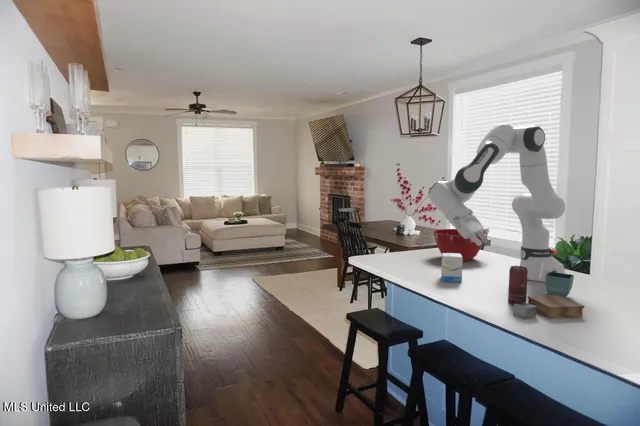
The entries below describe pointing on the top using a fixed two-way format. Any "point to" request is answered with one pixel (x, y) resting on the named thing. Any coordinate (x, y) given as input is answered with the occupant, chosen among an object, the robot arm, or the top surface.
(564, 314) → the stand
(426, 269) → the top surface
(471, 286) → the top surface
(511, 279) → the can
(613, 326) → the top surface
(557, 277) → the flower pot
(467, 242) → the mixing bowl
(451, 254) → the ink box
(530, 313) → the steel block
